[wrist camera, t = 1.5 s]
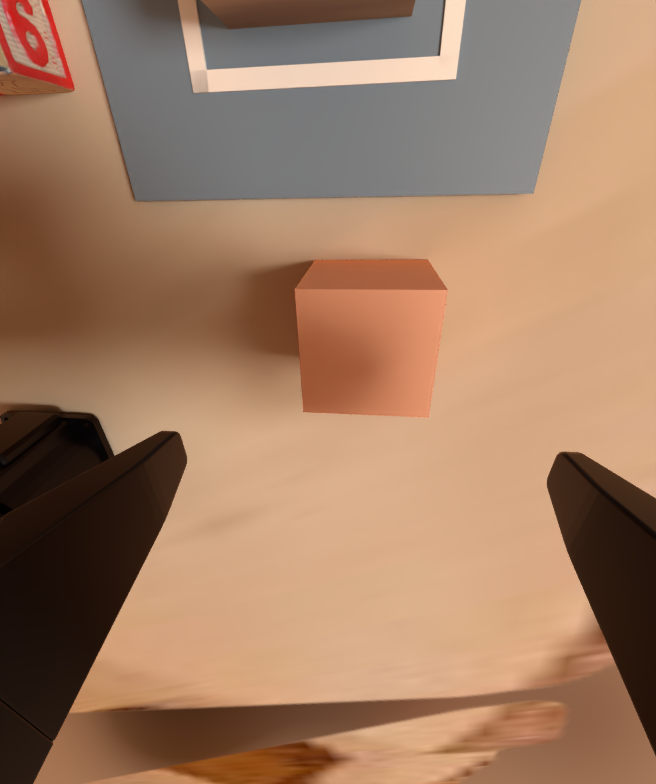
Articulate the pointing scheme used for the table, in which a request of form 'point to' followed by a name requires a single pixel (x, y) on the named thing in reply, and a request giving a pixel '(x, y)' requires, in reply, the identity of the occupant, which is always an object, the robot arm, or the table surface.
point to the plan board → (332, 99)
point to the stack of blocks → (31, 50)
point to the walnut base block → (304, 11)
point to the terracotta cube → (369, 336)
